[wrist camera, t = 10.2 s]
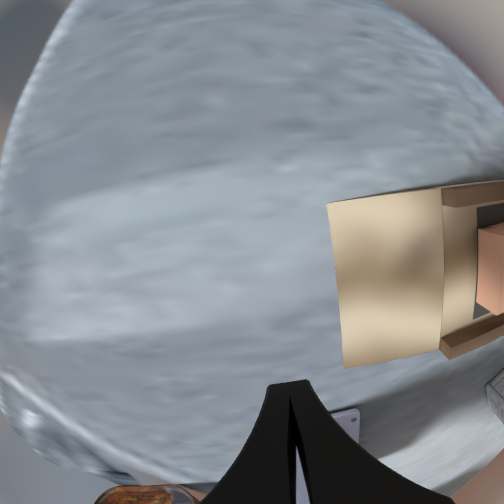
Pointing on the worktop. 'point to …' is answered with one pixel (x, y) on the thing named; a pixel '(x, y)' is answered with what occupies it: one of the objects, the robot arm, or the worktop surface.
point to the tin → (147, 495)
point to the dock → (413, 271)
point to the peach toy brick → (491, 268)
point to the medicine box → (496, 395)
